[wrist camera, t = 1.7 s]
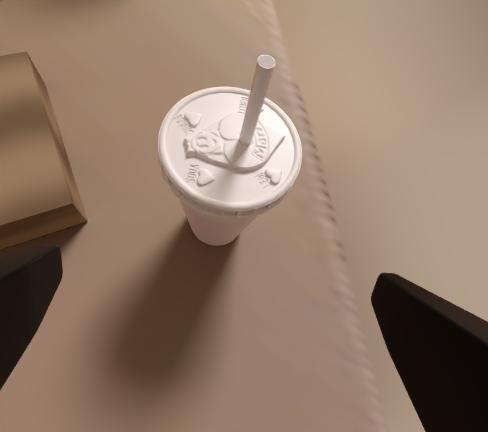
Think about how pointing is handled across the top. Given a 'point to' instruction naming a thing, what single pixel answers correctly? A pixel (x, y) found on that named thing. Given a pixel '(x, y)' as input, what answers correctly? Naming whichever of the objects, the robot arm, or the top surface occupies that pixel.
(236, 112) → the smoothie
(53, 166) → the walnut plinth
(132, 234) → the top surface
